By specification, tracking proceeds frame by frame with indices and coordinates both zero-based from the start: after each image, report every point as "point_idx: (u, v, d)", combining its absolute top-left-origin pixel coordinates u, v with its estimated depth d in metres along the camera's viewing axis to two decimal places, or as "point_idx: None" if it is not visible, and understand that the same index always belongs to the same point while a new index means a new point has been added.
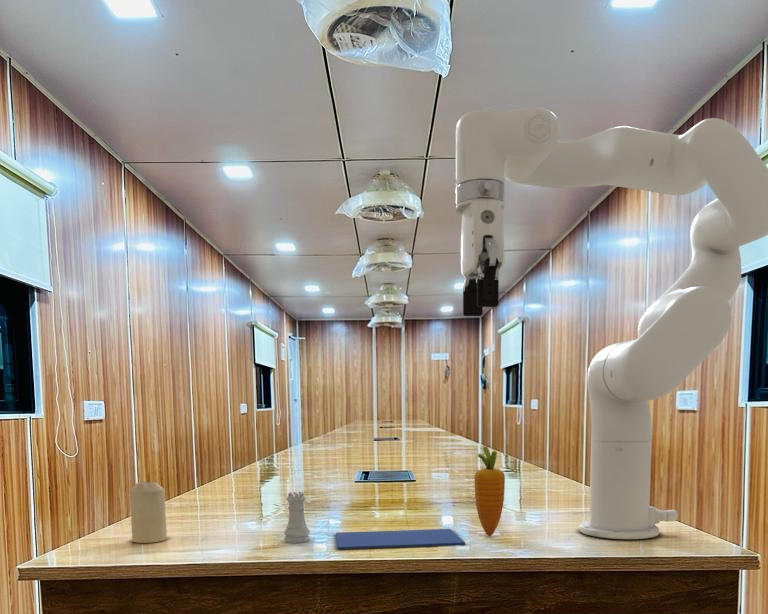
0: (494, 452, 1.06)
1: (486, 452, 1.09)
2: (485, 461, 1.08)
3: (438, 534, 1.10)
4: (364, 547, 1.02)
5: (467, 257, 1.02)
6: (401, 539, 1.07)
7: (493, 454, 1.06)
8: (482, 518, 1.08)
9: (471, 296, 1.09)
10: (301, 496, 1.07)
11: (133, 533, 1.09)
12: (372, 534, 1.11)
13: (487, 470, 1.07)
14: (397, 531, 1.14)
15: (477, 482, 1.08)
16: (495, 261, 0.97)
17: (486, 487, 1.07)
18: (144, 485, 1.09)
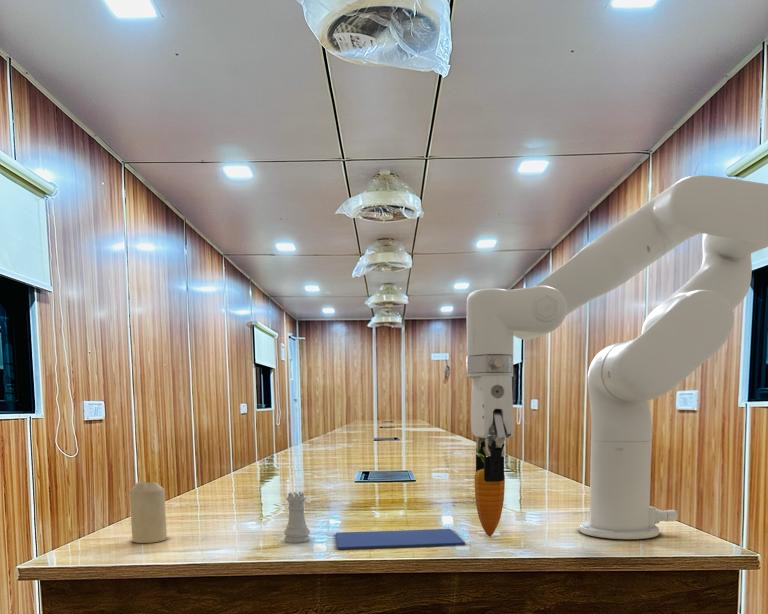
0: None
1: None
2: None
3: (438, 534, 1.10)
4: (364, 547, 1.02)
5: (477, 424, 1.06)
6: (401, 539, 1.07)
7: None
8: (482, 518, 1.08)
9: None
10: (301, 496, 1.07)
11: (133, 533, 1.09)
12: (372, 534, 1.11)
13: None
14: (397, 531, 1.14)
15: (477, 482, 1.08)
16: (501, 445, 1.03)
17: (486, 487, 1.07)
18: (144, 485, 1.09)
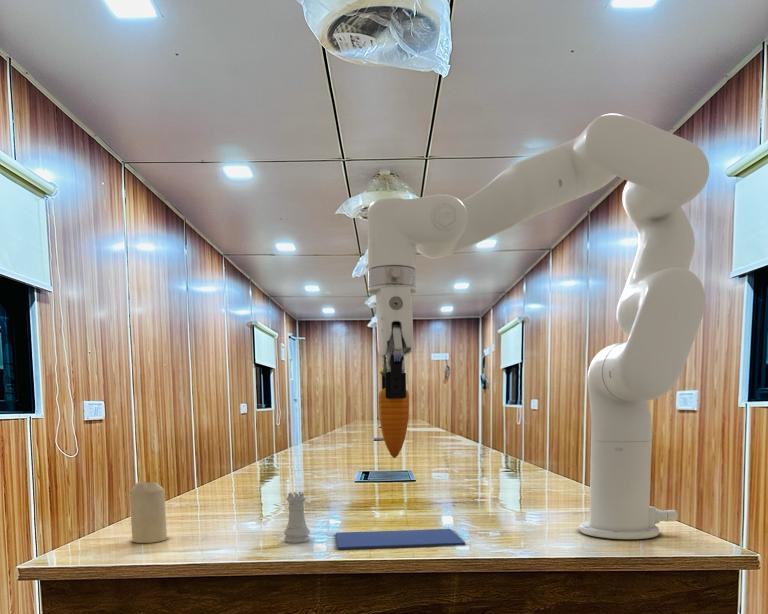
0: None
1: None
2: None
3: (438, 534, 1.10)
4: (364, 547, 1.02)
5: (379, 340, 1.03)
6: (401, 539, 1.07)
7: None
8: (386, 438, 1.05)
9: None
10: (301, 496, 1.07)
11: (133, 533, 1.09)
12: (372, 534, 1.11)
13: None
14: (397, 531, 1.14)
15: (380, 400, 1.05)
16: (400, 359, 1.00)
17: (388, 405, 1.04)
18: (144, 485, 1.09)
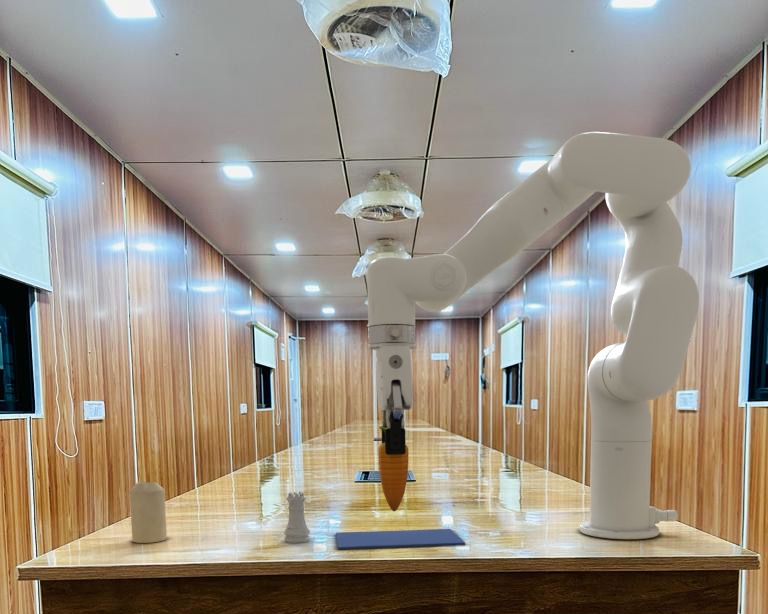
0: None
1: None
2: None
3: (438, 534, 1.10)
4: (364, 547, 1.02)
5: (379, 396, 1.04)
6: (401, 539, 1.07)
7: None
8: (385, 492, 1.06)
9: None
10: (301, 496, 1.07)
11: (133, 533, 1.09)
12: (372, 534, 1.11)
13: None
14: (397, 531, 1.14)
15: (380, 455, 1.06)
16: (399, 417, 1.01)
17: (387, 461, 1.05)
18: (144, 485, 1.09)
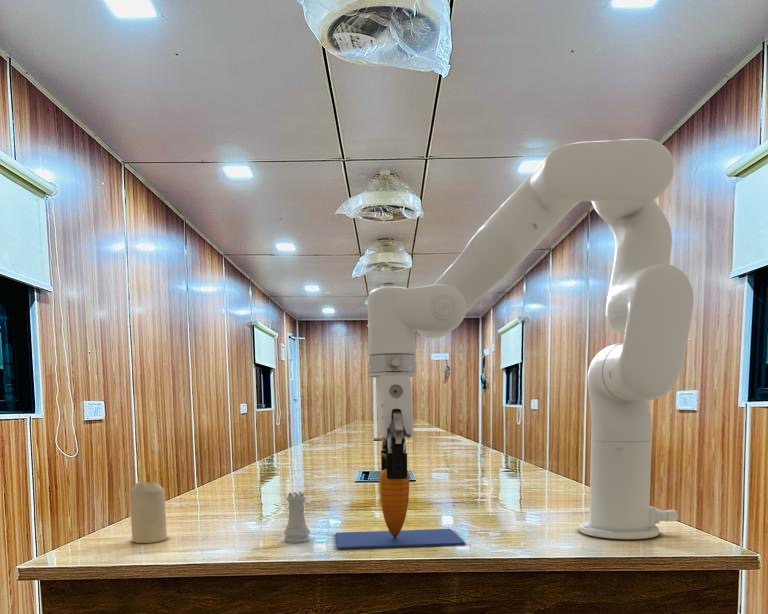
0: None
1: None
2: None
3: (438, 534, 1.10)
4: (364, 547, 1.02)
5: (379, 424, 1.05)
6: (401, 539, 1.07)
7: None
8: (386, 519, 1.07)
9: None
10: (301, 496, 1.07)
11: (133, 533, 1.09)
12: (372, 534, 1.11)
13: None
14: None
15: (381, 482, 1.06)
16: (401, 441, 1.00)
17: (388, 488, 1.05)
18: (144, 485, 1.09)
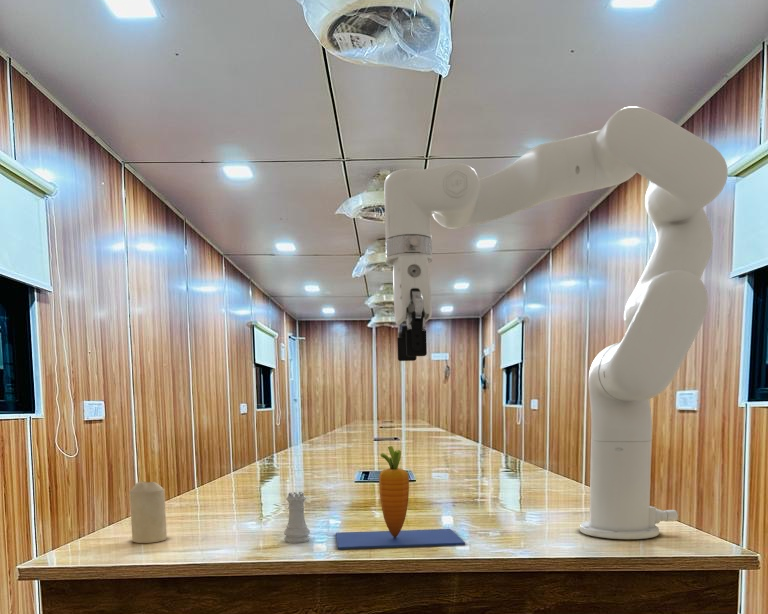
0: (396, 452, 1.05)
1: (391, 452, 1.07)
2: (388, 461, 1.06)
3: (438, 534, 1.10)
4: (364, 547, 1.02)
5: (397, 308, 1.07)
6: (401, 539, 1.07)
7: (395, 454, 1.05)
8: (386, 519, 1.07)
9: (405, 342, 1.13)
10: (301, 496, 1.07)
11: (133, 533, 1.09)
12: (372, 534, 1.11)
13: (390, 470, 1.06)
14: None
15: (381, 482, 1.06)
16: (421, 314, 1.01)
17: (388, 488, 1.05)
18: (144, 485, 1.09)
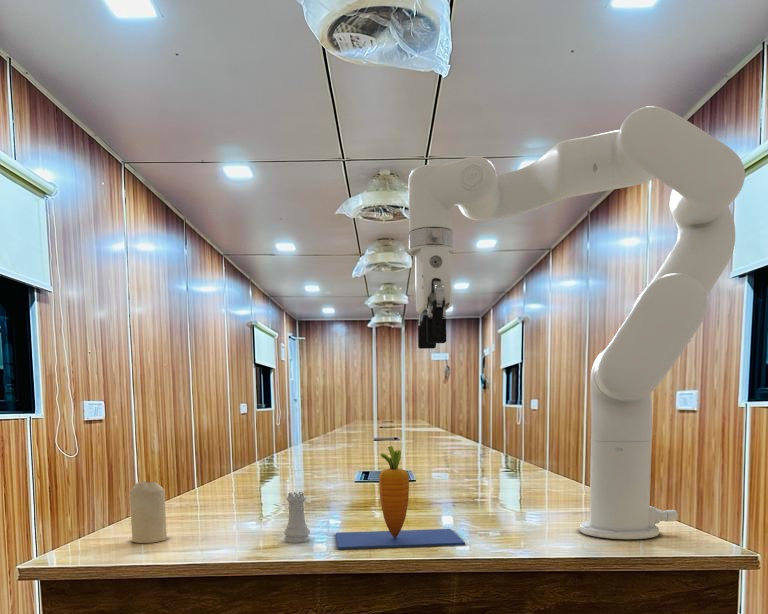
0: (396, 452, 1.05)
1: (391, 452, 1.07)
2: (388, 461, 1.06)
3: (438, 534, 1.10)
4: (364, 547, 1.02)
5: (419, 297, 1.12)
6: (401, 539, 1.07)
7: (395, 454, 1.05)
8: (386, 519, 1.07)
9: (425, 330, 1.19)
10: (301, 496, 1.07)
11: (133, 533, 1.09)
12: (372, 534, 1.11)
13: (390, 470, 1.06)
14: None
15: (381, 482, 1.06)
16: (442, 303, 1.06)
17: (388, 488, 1.05)
18: (144, 485, 1.09)
